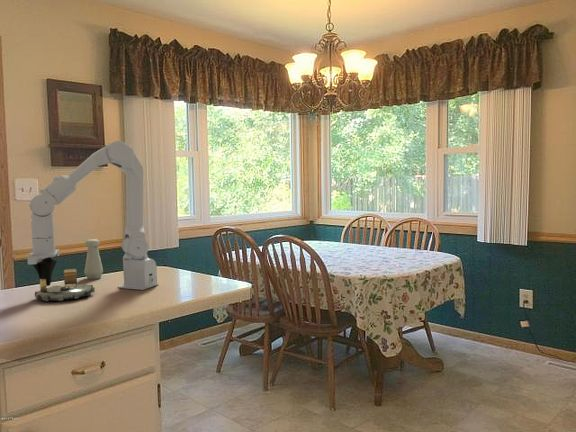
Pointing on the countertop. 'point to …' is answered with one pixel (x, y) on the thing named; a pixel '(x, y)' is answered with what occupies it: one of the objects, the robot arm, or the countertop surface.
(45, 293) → the sprocket
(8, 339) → the countertop surface
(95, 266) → the salt shaker
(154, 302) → the countertop surface
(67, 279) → the link block
